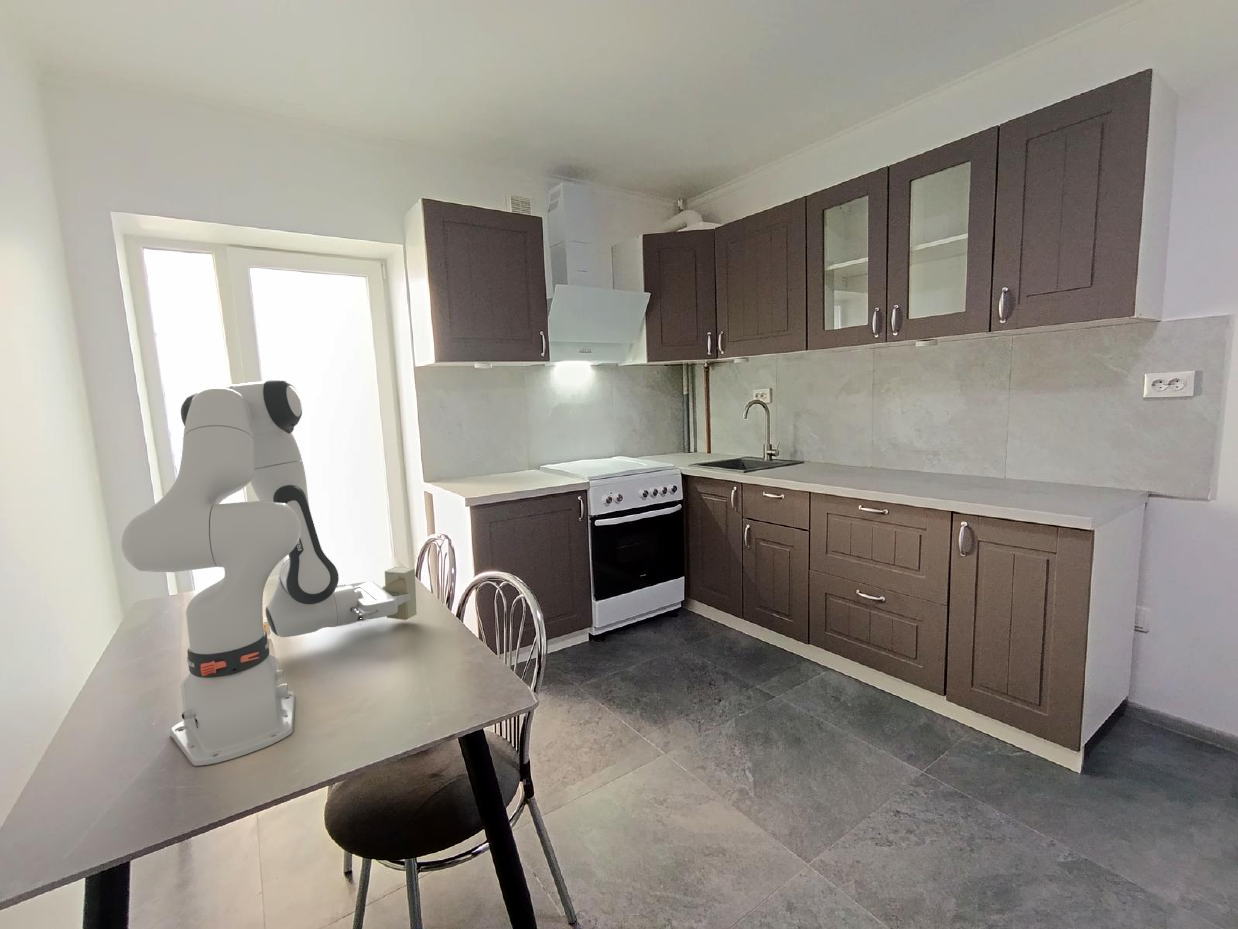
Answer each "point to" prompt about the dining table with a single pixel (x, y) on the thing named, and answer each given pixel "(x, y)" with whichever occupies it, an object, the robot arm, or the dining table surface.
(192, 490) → the robot arm
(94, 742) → the dining table surface
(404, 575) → the skincare box
